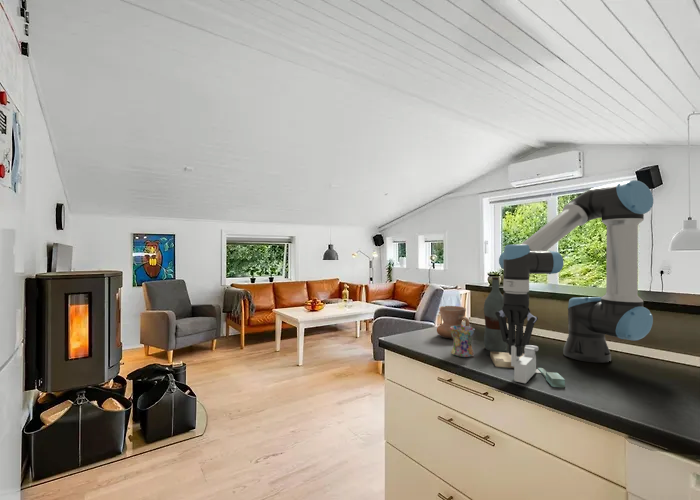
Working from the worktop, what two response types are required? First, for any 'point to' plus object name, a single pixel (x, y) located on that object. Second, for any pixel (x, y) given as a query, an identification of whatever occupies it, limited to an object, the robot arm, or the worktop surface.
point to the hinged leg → (525, 365)
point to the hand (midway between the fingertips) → (515, 365)
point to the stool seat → (553, 378)
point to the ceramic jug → (451, 319)
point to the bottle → (494, 319)
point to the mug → (462, 341)
